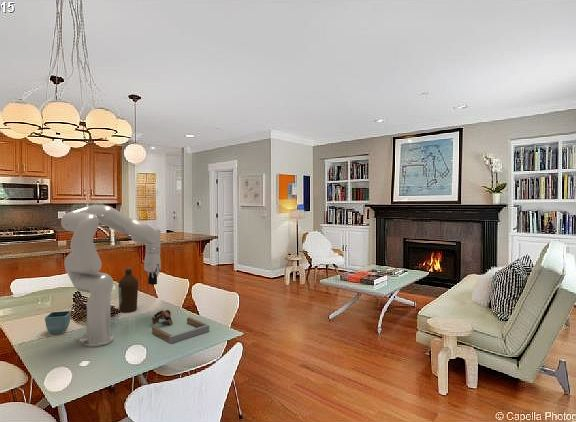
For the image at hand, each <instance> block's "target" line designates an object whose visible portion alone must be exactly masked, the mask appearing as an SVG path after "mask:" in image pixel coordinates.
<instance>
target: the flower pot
mask: <svg viewBox="0 0 576 422" xmlns="http://www.w3.org/2000/svg"><path fill="white" fill-rule="evenodd" d="M71 316H72V310H64V311H63V310H61V311H60V310H59V311H51V312H50V313H49V314H48V315H46V316H45V317H44V323H45V326H46V329H47V332H48V333H49V334H50V335H59V334H64V333H65V332H66V330H68V327H69V326H70V323H71Z"/></svg>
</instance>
